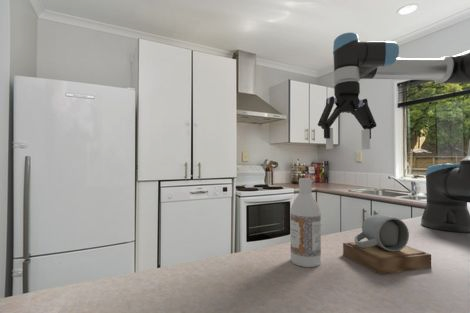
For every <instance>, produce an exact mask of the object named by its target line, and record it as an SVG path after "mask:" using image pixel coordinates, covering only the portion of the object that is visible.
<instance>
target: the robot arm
mask: <svg viewBox="0 0 470 313" xmlns="http://www.w3.org/2000/svg"><path fill="white" fill-rule="evenodd" d="M332 49H333V51H332V55H333V76H334V77H333V80H334V81H333V82H334V83H333V84H334V88H333V89H334V96H330V97H328V98H326V100H325V107H324V109H323V111H322V114H321V116H320V118H319V120H318V123H317V126H318V127H321V129H322V130H323V138H324V139H325V150H333V149H334V128H333V127H332V125H333V124H334V123H335V122H336V120H337V119H338V117H339V116H340V114H341V113H346V114H351V115H353V116H354V118H355V119H356V120H357V122H358V123H359V125H360V126H361V127H362V129H361V150H370V149H371V139H372V129H374V128H376V127H377V122H376V121H375V118H374V116H373V113H372V112H371V109H370V107H369V103H368V99H367V98H364V99H360V98H359V96H360V94H361V90H360V89H361V88H360V87H361V86H360V85H361V84H360V83H359V81H360V80H366V79H367V80H407V81H408V80H410V81H412V80H413V81H434V82H435V83H436V84H470V49H469V50H467V51H463V52H462V53H458V54H456V55H444V56H442V57H440V58H412V57H411V58H406V57H404V58H403V57H402V58H401V57H399V54H400V46H399V44H398V43H397V42H396V41H392V40H391V41H390V40H375V41H373V40H372V41H371V40H369V41H365V40H364V41H363V40H360V39H359V35H358V34H357V33H355V32H346V33H341V34H340V35H338V36H337V37H335V39H334V40H333V48H332ZM334 105H335V106H336V107H335V108H334V109H333V107H334ZM332 110H333V111H332ZM425 184H426V185H425V188H426V189H425V190H426V195H425V196H426V205H425V208H424V210H423V213H422V216H421V218H420V220H421V222H420V224H421V225H422V226H424V227H425V228H430V229H433V230H440V231H446V232H455V233H470V212H469V209H468V204H469V203H470V140H469V142H468V150H467V155H466V156H465V157H463V158H462V159H460V160H459V163H443V164H442V163H439V164H434V165H430V166H427V168H426V170H425Z"/></svg>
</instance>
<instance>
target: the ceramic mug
mask: <svg viewBox="0 0 470 313" xmlns="http://www.w3.org/2000/svg"><path fill="white" fill-rule="evenodd" d="M361 231H362V232H360V233H359V234H357V235H355V236H354V242H355V243H356V245H357V246H358V247H360V248H368V247H372V246H375V245H378V246H380V247H382V248H383V249H385V250H387V251H392V252H395V251H399V250H401V249H403V248H404V247H405V246H407V244H408V242H409V239H410V231H409V228H408V226H407V225H406V223H405V222H404V221H403V220H402V219H400V218H397V217H393V216H386V215H382V214H371V215H369V216H366V217H365V219H364V220H363V221H362V225H361ZM364 239H366V240H364ZM360 241H363V242H360Z"/></svg>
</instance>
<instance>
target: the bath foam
mask: <svg viewBox="0 0 470 313" xmlns="http://www.w3.org/2000/svg"><path fill="white" fill-rule="evenodd" d="M312 181H313V180H312V178H308V177H304V178H303V177H302V178H301V177H299V179H298V192H299V193H298V194H297V195H296V198H295V199H294V200H293V202H292V205H291V208H290V261H291V263H293V264H295V265H297V266H299V267H303V268H315V267H318V266H319V265H321V262H322V260H321V259H322V256H321V254H322V242H321V241H322V240H321V239H322V236H321V235H322V229H321V226H322V224H321V222H322V221H321V218H322V217H321V216H322V214H321V209H320V205H319V204H318V201H317V200H316V198H315V197H314V195H313V194H312V190H313V189H312V188H313V187H312V186H313V184H312V183H313V182H312Z"/></svg>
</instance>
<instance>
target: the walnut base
mask: <svg viewBox="0 0 470 313" xmlns="http://www.w3.org/2000/svg"><path fill="white" fill-rule="evenodd" d="M363 241H364V240H360V241H359V242H363ZM342 255H343V256H345V257H347V258H349V259H350V260H353V261H354V262H356V263H358V264H360V265H362V266H364V267H365V268H367V269H369V270H371V271H373V272H375V273H377V274H379V275H380V276H381V275H388V274H395V273H402V272H411V271H418V270H419V271H420V270H426V269H432V254H431V253H429V252H426V251H423V250H419V249H417V248H414V247H411V246H409V245H406V246H405V247H404V248H403V249H401V250H399V251H395V252H392V251H387V250H385V249H383V248H382V247H380V246H378V245H375V246H372V247H368V248H360V247H358V246H357V245H356V243H355V241H352V242H351V241H349V242H342Z"/></svg>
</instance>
